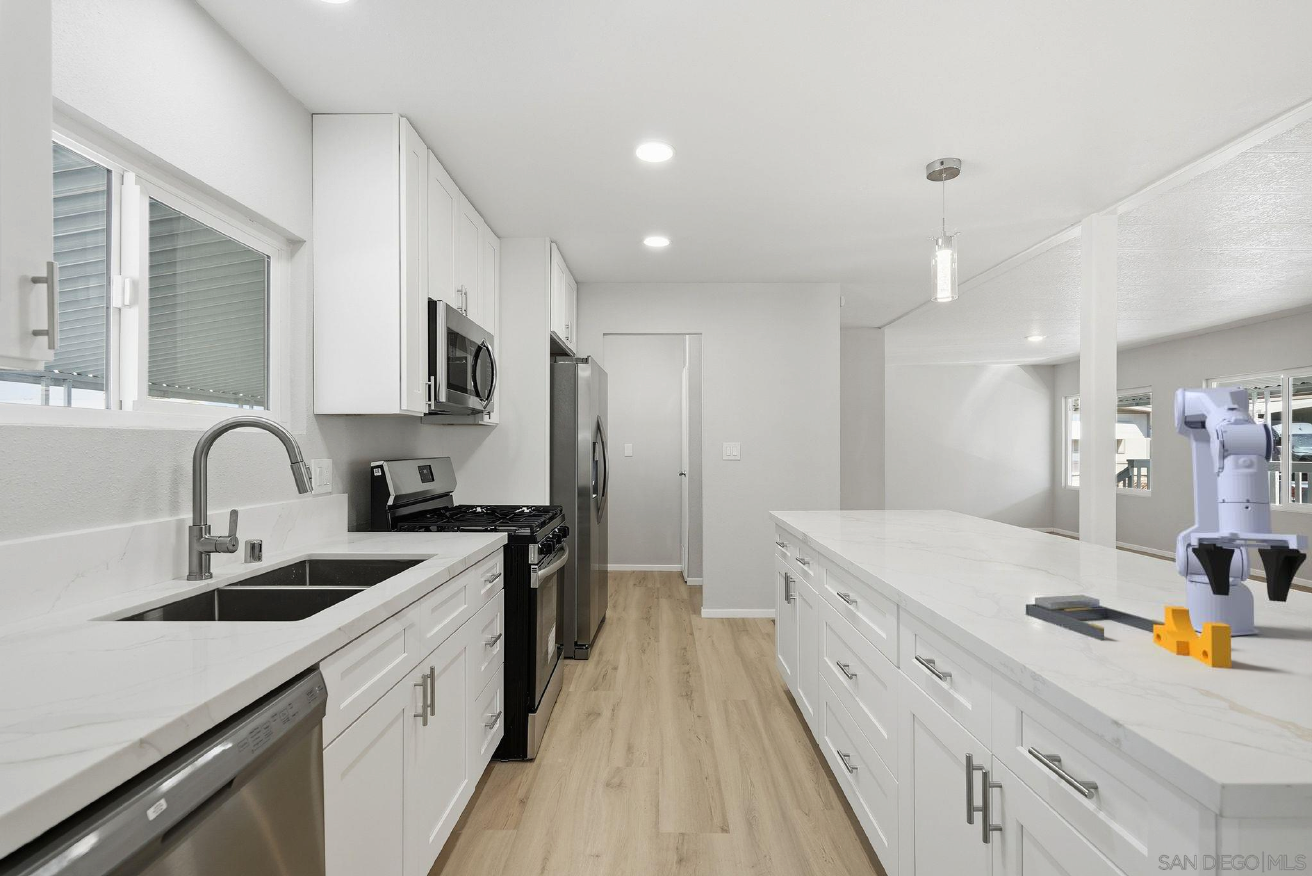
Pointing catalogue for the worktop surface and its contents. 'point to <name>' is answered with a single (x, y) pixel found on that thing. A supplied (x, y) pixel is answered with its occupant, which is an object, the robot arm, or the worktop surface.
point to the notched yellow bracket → (1194, 638)
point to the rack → (1083, 614)
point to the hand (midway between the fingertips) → (1248, 598)
